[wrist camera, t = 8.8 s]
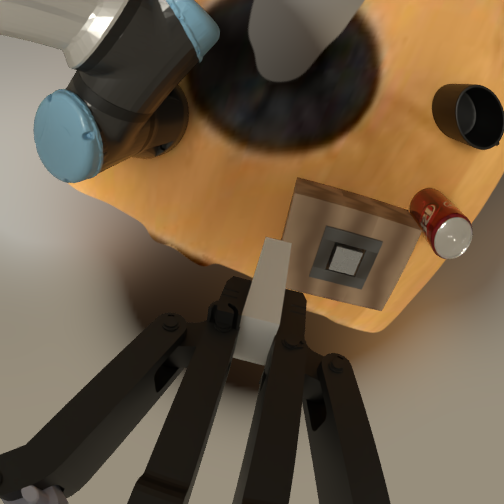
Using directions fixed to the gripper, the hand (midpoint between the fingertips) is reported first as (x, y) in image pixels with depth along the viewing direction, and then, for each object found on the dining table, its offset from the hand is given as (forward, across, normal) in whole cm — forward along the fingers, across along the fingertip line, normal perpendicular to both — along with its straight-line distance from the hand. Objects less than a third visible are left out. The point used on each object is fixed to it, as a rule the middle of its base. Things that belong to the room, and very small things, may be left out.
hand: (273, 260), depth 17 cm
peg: (+32, +11, -12) cm, 36 cm away
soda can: (+33, +24, -2) cm, 41 cm away
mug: (+33, +25, +15) cm, 44 cm away
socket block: (+32, +11, -12) cm, 36 cm away
